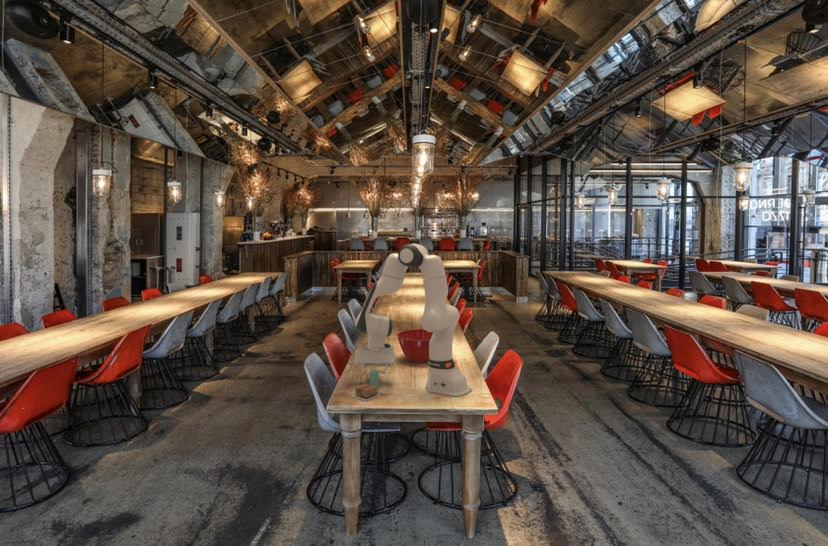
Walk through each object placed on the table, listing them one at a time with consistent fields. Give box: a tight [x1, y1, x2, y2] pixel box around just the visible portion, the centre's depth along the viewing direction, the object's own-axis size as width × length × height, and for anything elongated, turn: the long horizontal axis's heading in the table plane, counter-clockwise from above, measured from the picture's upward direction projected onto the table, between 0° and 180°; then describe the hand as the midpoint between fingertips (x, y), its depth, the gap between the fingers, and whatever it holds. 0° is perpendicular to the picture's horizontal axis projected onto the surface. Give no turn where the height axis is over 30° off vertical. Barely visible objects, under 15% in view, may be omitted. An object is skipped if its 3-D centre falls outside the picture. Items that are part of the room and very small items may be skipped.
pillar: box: [369, 369, 380, 389], centre depth 240 cm, size 4×4×8 cm
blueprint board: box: [348, 392, 385, 403], centre depth 228 cm, size 12×12×1 cm
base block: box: [354, 383, 378, 399], centre depth 228 cm, size 7×7×4 cm
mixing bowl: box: [396, 328, 433, 364], centre depth 287 cm, size 28×28×15 cm
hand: (374, 373), depth 241 cm, fingers open, 8 cm apart
